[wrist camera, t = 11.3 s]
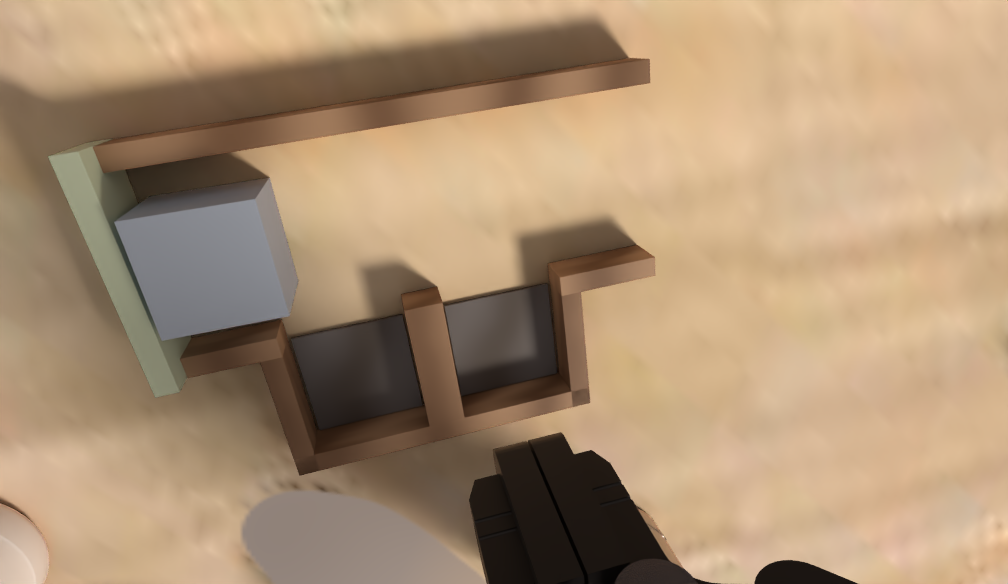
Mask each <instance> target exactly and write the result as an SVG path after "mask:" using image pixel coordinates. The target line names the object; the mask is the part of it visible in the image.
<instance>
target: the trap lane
mask: <svg viewBox="0 0 1008 584" xmlns="http://www.w3.org/2000/svg"><path fill="white" fill-rule="evenodd" d="M647 83H650V59H637V58H628V59H621V60H615V61H608V62H602V63H596V64H589V65H583V66H577V67H570V68H564V69H558V70H551V71H545V72H538V73H532V74H526V75H519V76H513V77H507V78H500V79H494V80H487V81H481V82H475V83H468V84H462V85H456V86H449V87H443V88H436V89H430V90H424V91H417V92H411V93H405V94H398V95H392V96H385V97H379V98H373V99H366V100H360V101H354V102H347V103H341V104H334V105H328V106H322V107H315V108H309V109H303V110H296V111H290V112H283V113H277V114H271V115H264V116H258V117H252V118H245V119H239V120H233V121H226V122H220V123H213V124H207V125H201V126H194V127H188V128H182V129H175V130H169V131H162V132H156V133H150V134H143V135H137V136H131V137H124V138H118V139H112V140H110V141H107V142H104V143H102V144H99V145H97V146H94V147H93V150H94V152H95V154H96V157H97V159H98V162H99V164H100V167H101V169H102V171H103V173H107V172H113V171H119V170H125V169H131V168H138V167H144V166H150V165H156V164H162V163H168V162H174V161H180V160H186V159H192V158H198V157H204V156H210V155H216V154H222V153H229V152H235V151H241V150H247V149H253V148H259V147H265V146H271V145H277V144H283V143H289V142H295V141H301V140H307V139H313V138H320V137H326V136H332V135H338V134H344V133H350V132H356V131H362V130H368V129H374V128H380V127H386V126H392V125H398V124H405V123H411V122H417V121H423V120H429V119H435V118H441V117H447V116H453V115H459V114H465V113H471V112H477V111H483V110H489V109H496V108H502V107H508V106H514V105H520V104H526V103H532V102H538V101H544V100H550V99H556V98H562V97H568V96H574V95H580V94H587V93H593V92H599V91H605V90H611V89H617V88H623V87H629V86H635V85H641V84H647ZM548 272H549V282H550V291H551V300H552V310H553V319H554V328H555V338H556V347H557V356H558V366H559V372H558V373H557V367H556V358H555V349H554V340H553V330H552V321H551V312H550V303H549V294H548V284H547V283H545V284H540V285H536V286H531V287H526V288H522V289H517V290H512V291H508V292H503V293H498V294H494V295H489V296H484V297H480V298H475V299H470V300H466V301H461V302H456V303H452V304H447V305H444V307H445V312H446V318H447V323H448V328H449V333H450V339H451V344H452V349H453V354H454V360H455V365H456V370H457V376H458V381H459V386H460V391H461V396H460V391H459V386H458V381H457V376H456V370H455V365H454V360H453V355H452V349H451V344H450V339H449V334H448V328H447V323H446V318H445V313H444V308H443V303H442V300H441V297H440V294H439V291H438V288H437V287H433V288H428V289H424V290H419V291H414V292H409V293H404V294H401V296H402V302H403V307H404V313H405V317H406V322H407V326H408V331H409V335H410V340H411V344H412V349H413V353H414V358H415V362H416V367H417V371H418V376H419V380H420V385H421V389H422V394H423V398H424V403H425V405H422V400H421V396H420V392H419V387H418V383H417V378H416V374H415V369H414V365H413V360H412V356H411V351H410V347H409V342H408V338H407V334H406V329H405V325H404V320H403V316H402V314H401V315H396V316H391V317H387V318H382V319H377V320H373V321H368V322H363V323H359V324H354V325H349V326H345V327H340V328H335V329H331V330H326V331H321V332H317V333H312V334H307V335H303V336H298V337H294V338H291V341H292V344H293V347H294V351H295V354H296V357H297V360H298V363H299V366H300V370H301V373H302V376H303V379H304V382H305V385H306V388H307V392H308V395H309V398H310V401H311V404H312V407H313V411H314V414H315V417H316V420H317V423H318V426H319V429H320V430H317V428H316V425H315V422H314V419H313V416H312V413H311V410H310V407H309V403H308V400H307V397H306V394H305V391H304V388H303V385H302V381H301V378H300V375H299V372H298V369H297V366H296V363H295V360H294V356H293V353H292V350H291V347H290V344H289V341H288V338H287V334H286V331H285V328H284V325H283V322H282V319H280V320H276V321H271V322H266V323H261V324H257V325H252V326H247V327H242V328H237V329H233V330H228V331H223V332H218V333H214V334H209V335H204V336H199V337H194V338H191V340H190V342H189V344H188V345H187V347H186V349H185V351H184V352H183V354H182V356H181V358H180V361H181V363H182V366H183V368H184V371H185V373H186V376H187V378H190V377H195V376H200V375H204V374H209V373H213V372H218V371H222V370H227V369H232V368H236V367H241V366H245V365H250V364H254V363H259V362H260V363H261V366H262V369H263V372H264V375H265V378H266V380H267V383H268V386H269V389H270V392H271V395H272V398H273V401H274V403H275V406H276V409H277V412H278V415H279V418H280V421H281V424H282V426H283V429H284V432H285V435H286V438H287V441H288V444H289V447H290V449H291V452H292V455H293V458H294V461H295V464H296V467H297V470H298V472H299V475H304V474H308V473H312V472H316V471H320V470H324V469H328V468H332V467H336V466H340V465H344V464H348V463H352V462H356V461H360V460H364V459H368V458H372V457H376V456H380V455H384V454H388V453H392V452H396V451H400V450H404V449H408V448H412V447H416V446H420V445H424V444H428V443H432V442H435V441H439V440H443V439H447V438H451V437H455V436H459V435H463V434H467V433H471V432H475V431H479V430H483V429H487V428H491V427H495V426H499V425H503V424H507V423H511V422H515V421H519V420H523V419H527V418H531V417H535V416H539V415H543V414H547V413H551V412H555V411H559V410H563V409H567V408H571V407H575V406H579V405H583V404H587V403H590V394H589V383H588V371H587V359H586V347H585V335H584V323H583V311H582V299H581V292H583V291H587V290H592V289H596V288H601V287H605V286H610V285H615V284H619V283H624V282H628V281H633V280H637V279H642V278H646V277H651V276H655V257H654V256H652V255H651V254H649V253H648V252H647V251H645V250H644V249H642V248H641V247H640V246H638V245H634V246H629V247H624V248H619V249H614V250H610V251H605V252H600V253H595V254H591V255H586V256H581V257H576V258H571V259H567V260H562V261H557V262H552V263H548Z"/></svg>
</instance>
